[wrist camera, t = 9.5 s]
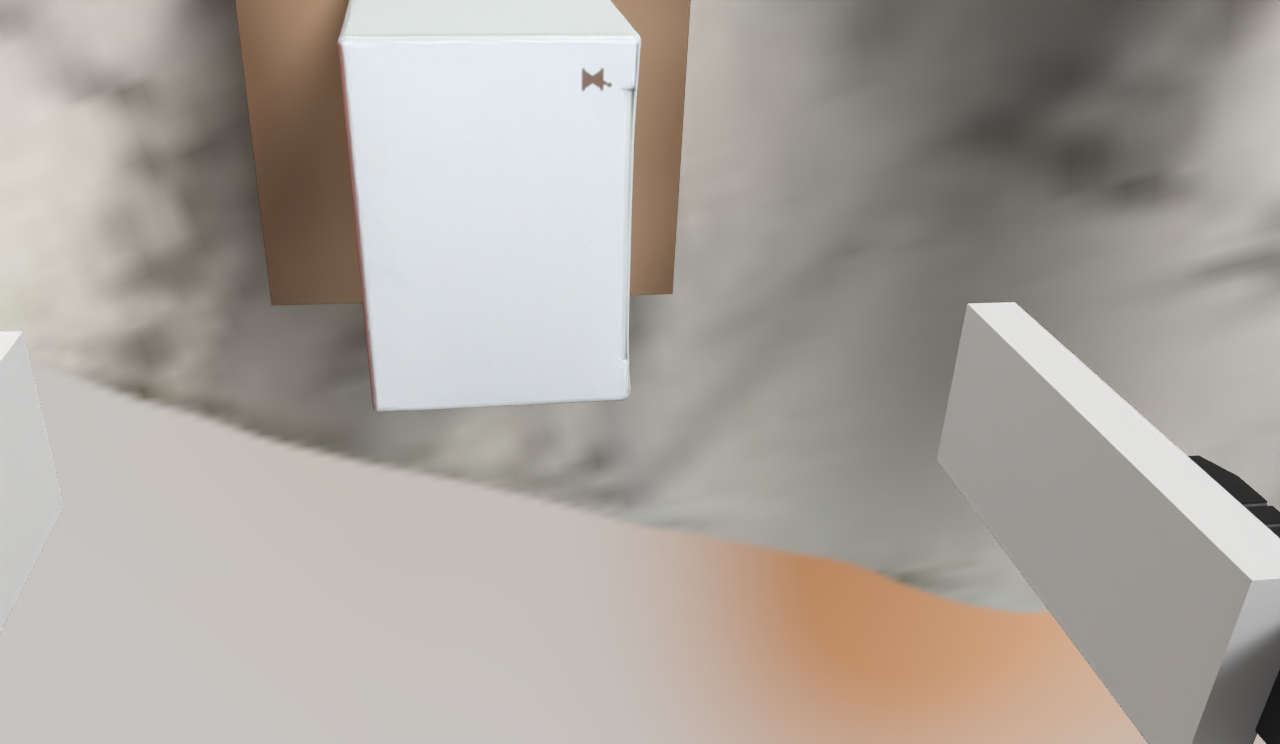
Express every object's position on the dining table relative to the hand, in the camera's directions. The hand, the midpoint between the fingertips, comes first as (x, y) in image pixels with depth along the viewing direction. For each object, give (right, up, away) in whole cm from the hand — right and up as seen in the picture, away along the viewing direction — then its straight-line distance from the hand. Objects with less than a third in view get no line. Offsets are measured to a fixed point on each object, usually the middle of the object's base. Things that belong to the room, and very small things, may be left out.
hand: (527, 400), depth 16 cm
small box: (-3, +8, +15) cm, 17 cm away
